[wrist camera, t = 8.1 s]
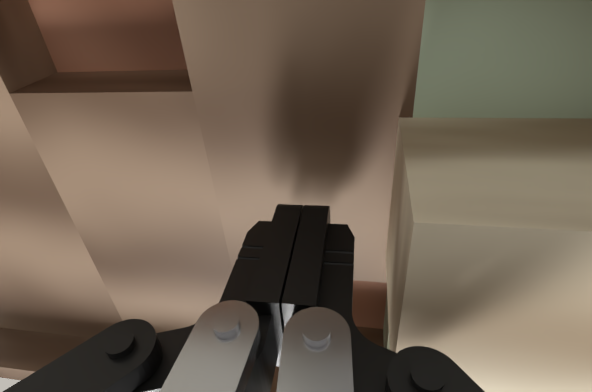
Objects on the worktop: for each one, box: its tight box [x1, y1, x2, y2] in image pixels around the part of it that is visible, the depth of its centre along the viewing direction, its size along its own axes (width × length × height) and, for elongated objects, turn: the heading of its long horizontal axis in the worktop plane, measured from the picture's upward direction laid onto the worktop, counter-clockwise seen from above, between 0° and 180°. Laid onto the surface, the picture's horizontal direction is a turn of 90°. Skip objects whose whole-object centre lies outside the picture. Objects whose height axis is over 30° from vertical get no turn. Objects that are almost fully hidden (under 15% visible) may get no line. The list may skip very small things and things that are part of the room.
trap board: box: [0, 0, 592, 392], centre depth 13 cm, size 20×26×6 cm
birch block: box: [386, 117, 592, 392], centre depth 9 cm, size 5×5×4 cm
